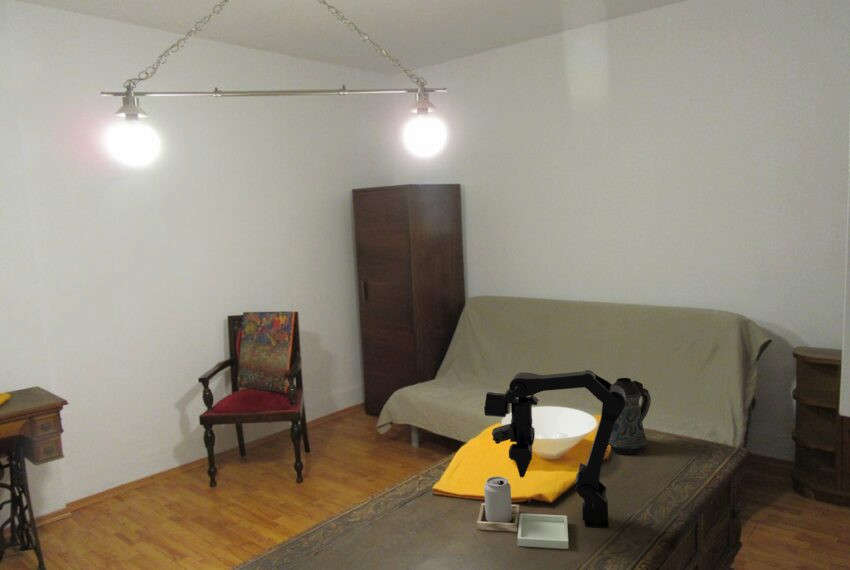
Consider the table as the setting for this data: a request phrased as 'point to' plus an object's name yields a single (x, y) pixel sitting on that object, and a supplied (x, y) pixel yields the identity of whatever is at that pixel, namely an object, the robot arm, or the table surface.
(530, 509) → the table surface
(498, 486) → the can
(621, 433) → the beer stein
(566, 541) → the tray
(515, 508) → the holder
